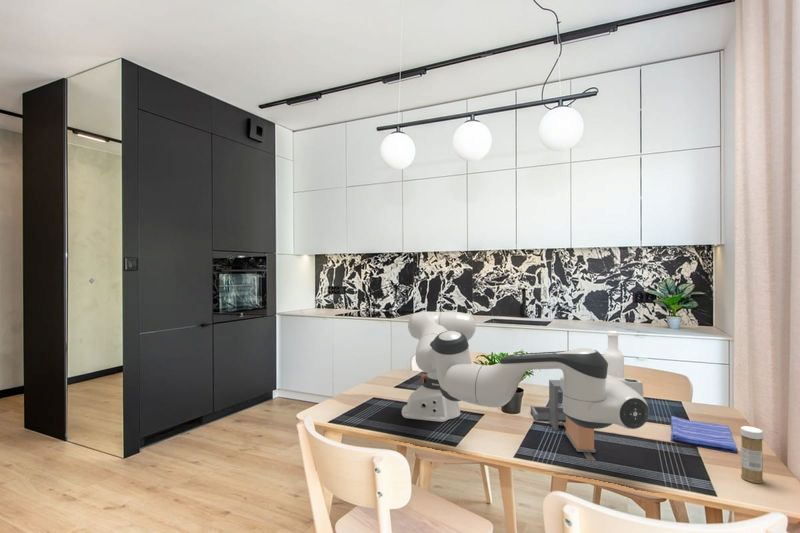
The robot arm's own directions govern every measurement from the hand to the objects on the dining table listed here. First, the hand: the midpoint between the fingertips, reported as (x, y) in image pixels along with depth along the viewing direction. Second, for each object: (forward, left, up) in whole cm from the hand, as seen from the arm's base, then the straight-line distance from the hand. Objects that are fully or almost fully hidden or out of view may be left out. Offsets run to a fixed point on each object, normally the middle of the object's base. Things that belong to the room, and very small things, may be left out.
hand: (590, 378), depth 125 cm
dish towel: (+42, +21, -24) cm, 52 cm away
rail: (0, +13, -23) cm, 26 cm away
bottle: (+24, +48, -23) cm, 58 cm away
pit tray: (0, +33, -23) cm, 40 cm away
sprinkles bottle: (+38, -9, -23) cm, 45 cm away
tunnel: (0, +24, -23) cm, 33 cm away
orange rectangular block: (0, +10, -23) cm, 25 cm away
